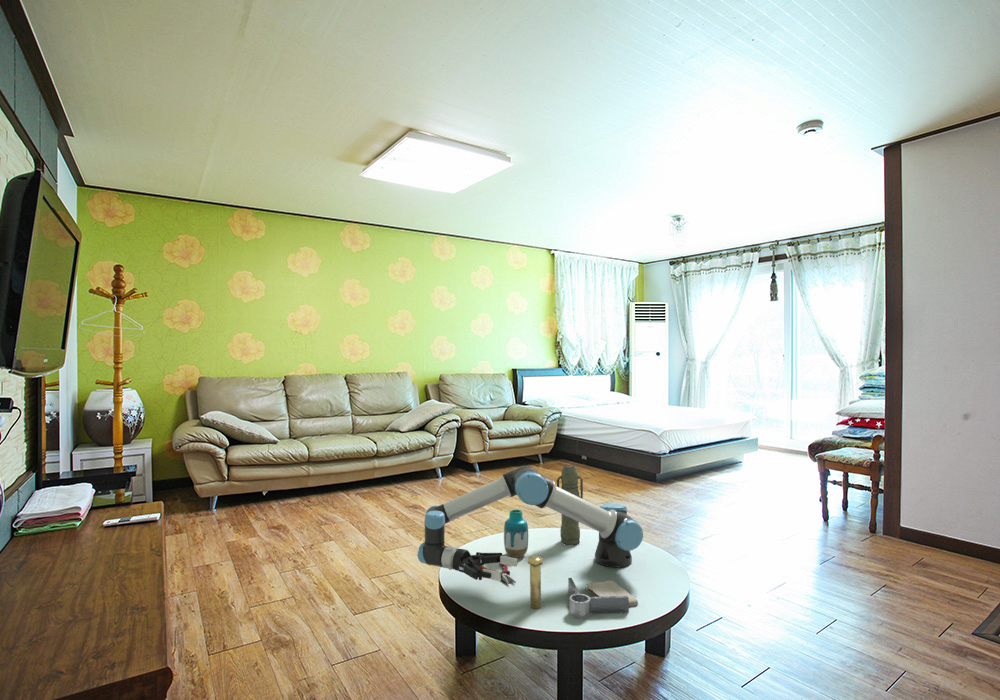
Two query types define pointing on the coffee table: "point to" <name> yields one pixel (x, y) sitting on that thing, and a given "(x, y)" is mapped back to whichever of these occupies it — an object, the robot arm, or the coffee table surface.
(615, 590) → the washcloth
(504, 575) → the pliers
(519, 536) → the vase
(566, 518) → the thermos
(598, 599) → the hinge
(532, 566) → the hinge pin
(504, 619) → the coffee table surface
